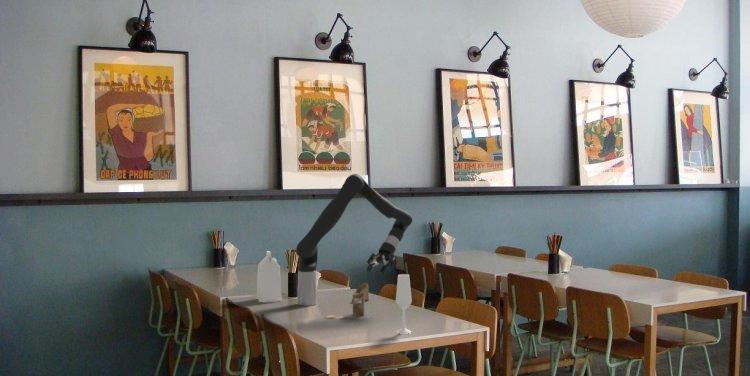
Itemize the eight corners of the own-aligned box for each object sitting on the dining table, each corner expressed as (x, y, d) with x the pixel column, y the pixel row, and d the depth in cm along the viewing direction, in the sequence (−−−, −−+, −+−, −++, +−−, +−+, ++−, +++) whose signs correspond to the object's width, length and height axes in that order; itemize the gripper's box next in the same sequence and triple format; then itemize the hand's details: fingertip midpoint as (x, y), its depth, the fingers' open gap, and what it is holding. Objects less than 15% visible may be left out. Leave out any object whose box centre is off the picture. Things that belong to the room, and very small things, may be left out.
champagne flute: (411, 330, 308) (410, 273, 308) (412, 333, 301) (412, 276, 301) (395, 330, 308) (395, 274, 308) (396, 334, 301) (396, 276, 301)
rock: (353, 299, 376) (371, 295, 378) (349, 284, 381) (367, 281, 383) (351, 308, 385) (369, 305, 387) (347, 294, 390) (365, 291, 392)
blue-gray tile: (344, 318, 336) (344, 317, 336) (347, 313, 348) (347, 312, 348) (370, 318, 335) (370, 317, 335) (372, 313, 347) (372, 312, 347)
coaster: (322, 319, 333) (322, 318, 333) (325, 316, 342) (325, 315, 342) (342, 320, 332) (342, 319, 332) (344, 316, 341) (344, 315, 341)
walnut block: (352, 316, 339) (352, 294, 339) (354, 314, 344) (354, 292, 344) (363, 316, 339) (363, 294, 339) (364, 314, 344) (364, 293, 344)
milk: (256, 299, 392) (256, 250, 392) (277, 297, 396) (277, 250, 395) (259, 302, 381) (259, 253, 381) (281, 301, 384) (281, 252, 384)
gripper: (374, 241, 361) (359, 266, 353) (397, 242, 352) (382, 268, 344) (381, 250, 365) (367, 276, 357) (404, 252, 356) (389, 278, 348)
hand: (374, 272), depth 350 cm, fingers open, 8 cm apart
